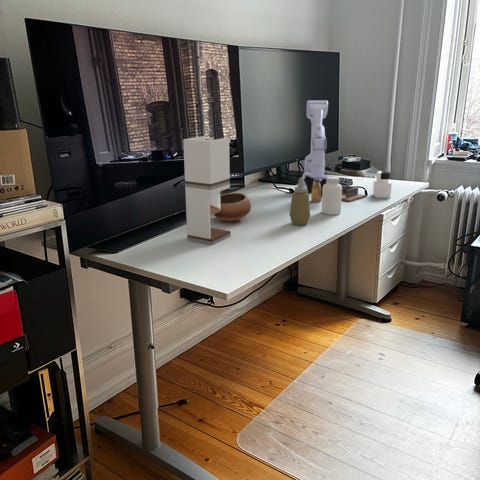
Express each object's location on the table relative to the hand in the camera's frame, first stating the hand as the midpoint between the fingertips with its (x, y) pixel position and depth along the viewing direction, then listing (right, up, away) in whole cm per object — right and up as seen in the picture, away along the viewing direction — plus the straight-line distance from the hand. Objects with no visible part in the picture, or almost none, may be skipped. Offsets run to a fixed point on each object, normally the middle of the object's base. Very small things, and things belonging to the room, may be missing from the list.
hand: (316, 194), depth 224 cm
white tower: (-46, -21, -51) cm, 71 cm away
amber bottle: (0, -3, +1) cm, 3 cm away
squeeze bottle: (-12, -15, -34) cm, 39 cm away
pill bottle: (+3, -10, -19) cm, 21 cm away
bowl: (-39, -13, -28) cm, 49 cm away
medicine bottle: (+33, 0, +10) cm, 34 cm away
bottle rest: (+14, 0, +9) cm, 17 cm away
